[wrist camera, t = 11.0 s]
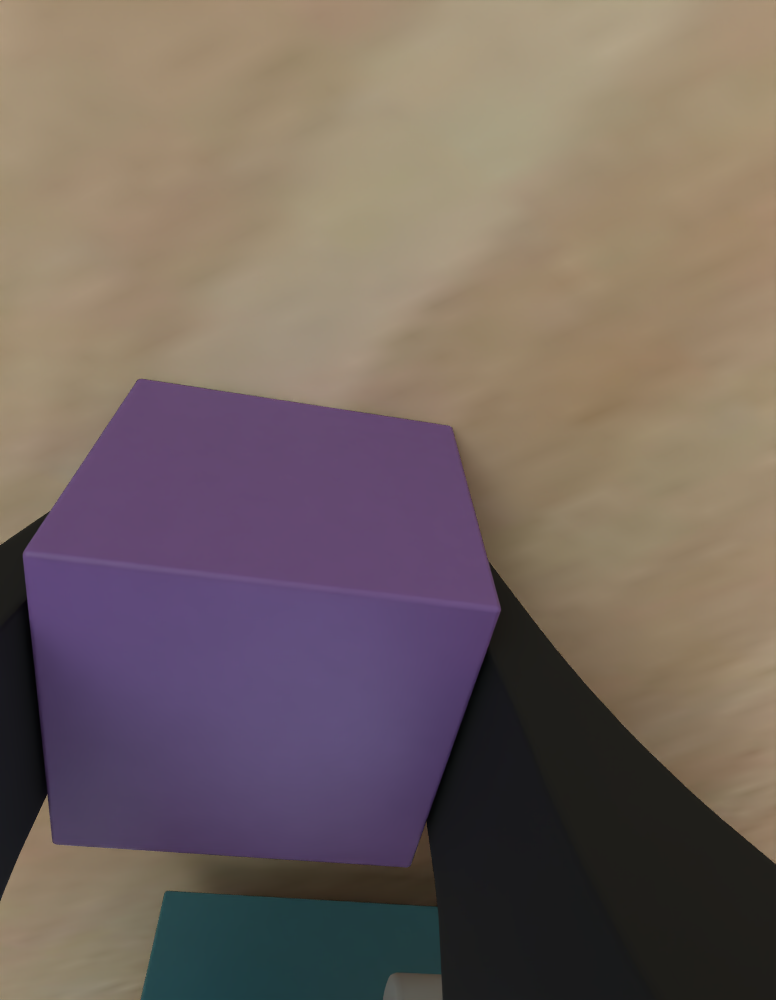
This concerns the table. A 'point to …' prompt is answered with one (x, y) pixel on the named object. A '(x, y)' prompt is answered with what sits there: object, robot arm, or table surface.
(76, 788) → the block
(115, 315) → the table surface
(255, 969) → the drawer
